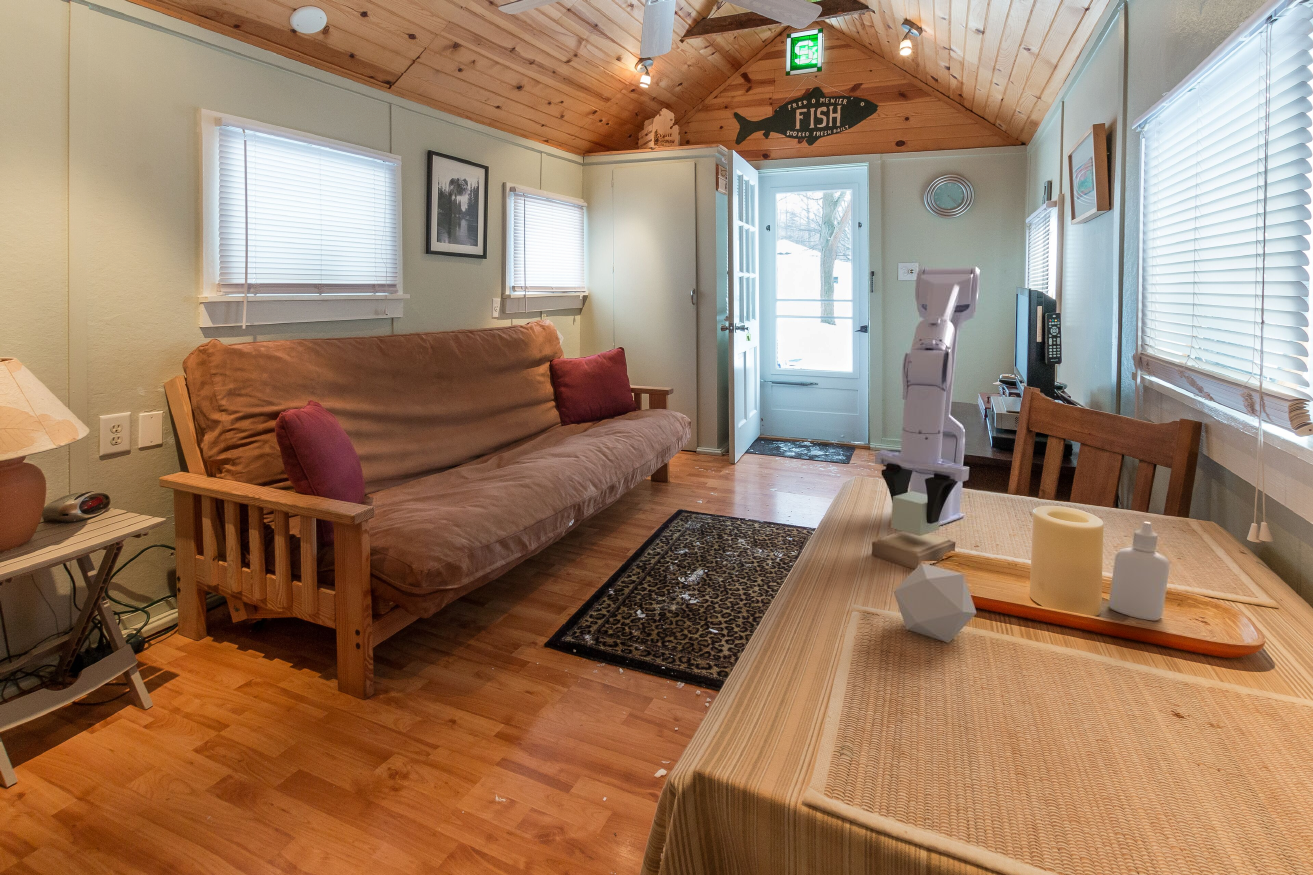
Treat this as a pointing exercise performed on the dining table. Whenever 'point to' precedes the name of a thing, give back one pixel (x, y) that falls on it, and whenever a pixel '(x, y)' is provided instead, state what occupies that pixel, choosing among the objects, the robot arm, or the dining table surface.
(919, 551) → the plinth
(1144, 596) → the eye dropper bottle
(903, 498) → the sage block
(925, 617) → the die
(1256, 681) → the dining table surface
